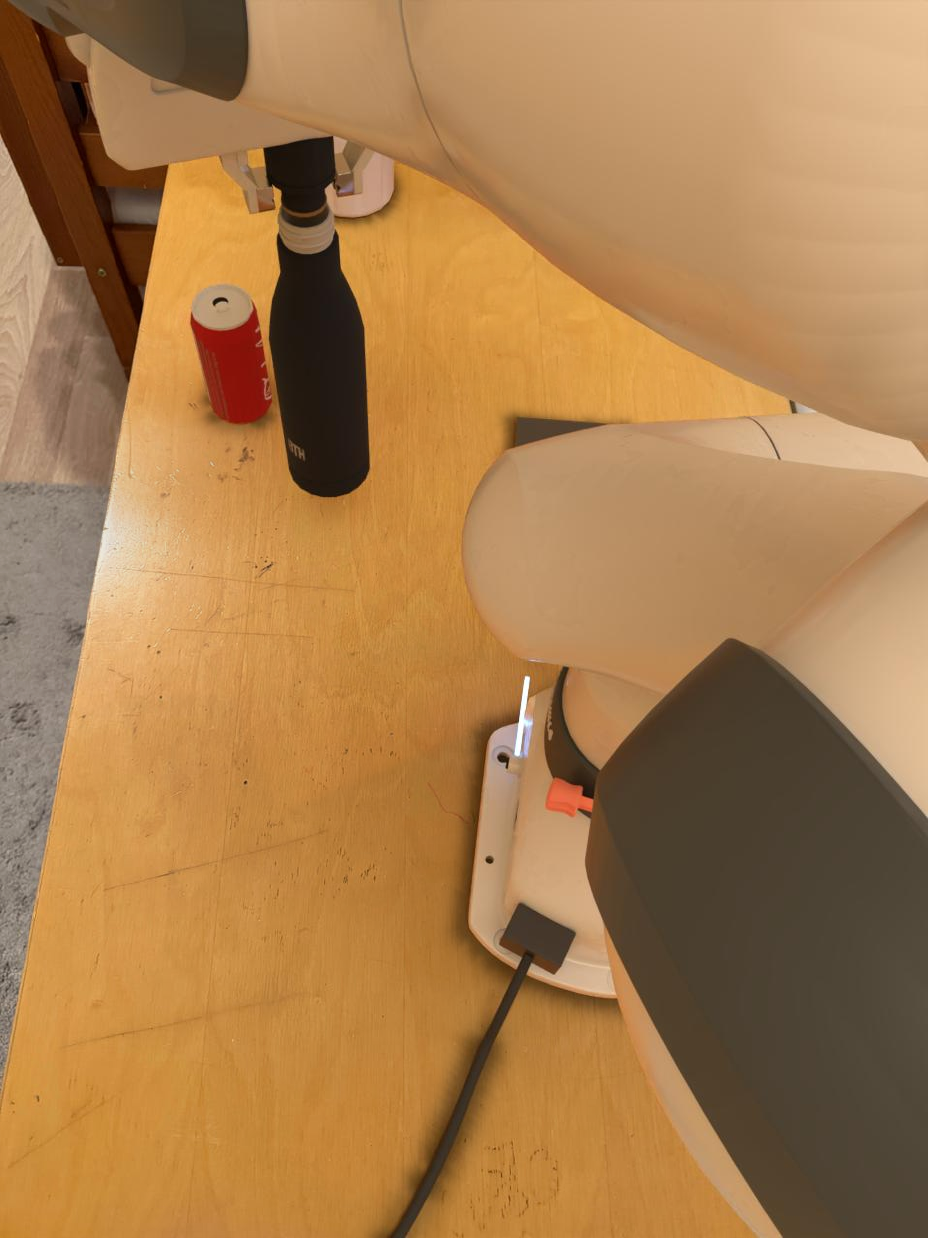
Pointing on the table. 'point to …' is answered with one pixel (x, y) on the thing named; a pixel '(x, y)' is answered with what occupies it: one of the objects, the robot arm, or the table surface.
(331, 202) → the soap bottle
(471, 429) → the table surface
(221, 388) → the soda can
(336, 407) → the black insulated water bottle
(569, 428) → the slate coaster
